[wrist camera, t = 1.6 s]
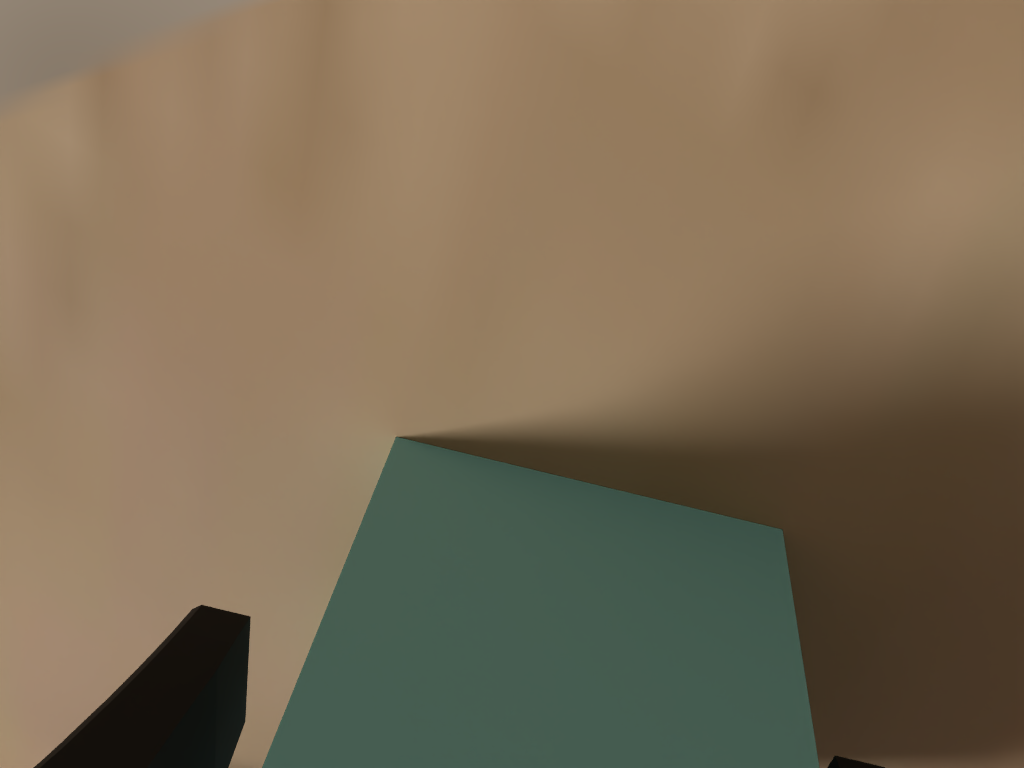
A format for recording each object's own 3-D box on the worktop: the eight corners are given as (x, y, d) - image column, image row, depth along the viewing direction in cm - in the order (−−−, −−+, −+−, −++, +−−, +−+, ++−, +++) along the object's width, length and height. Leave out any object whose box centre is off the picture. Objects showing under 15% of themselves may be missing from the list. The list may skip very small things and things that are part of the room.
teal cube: (781, 525, 12) (844, 927, 8) (670, 758, 15) (672, 1147, 11) (397, 433, 12) (254, 785, 8) (358, 683, 15) (238, 1041, 11)
